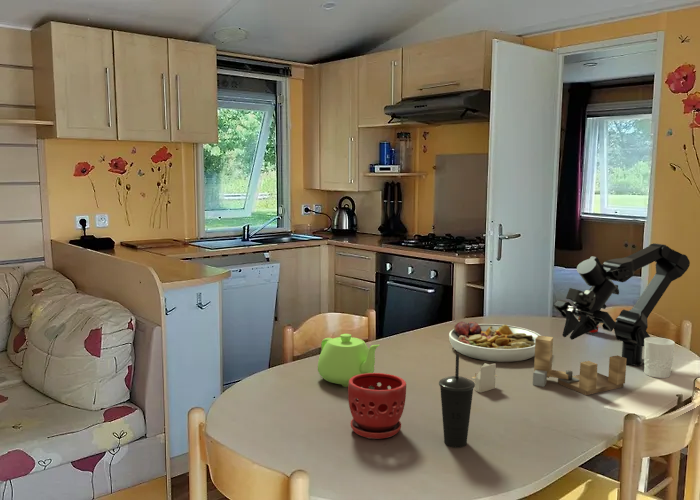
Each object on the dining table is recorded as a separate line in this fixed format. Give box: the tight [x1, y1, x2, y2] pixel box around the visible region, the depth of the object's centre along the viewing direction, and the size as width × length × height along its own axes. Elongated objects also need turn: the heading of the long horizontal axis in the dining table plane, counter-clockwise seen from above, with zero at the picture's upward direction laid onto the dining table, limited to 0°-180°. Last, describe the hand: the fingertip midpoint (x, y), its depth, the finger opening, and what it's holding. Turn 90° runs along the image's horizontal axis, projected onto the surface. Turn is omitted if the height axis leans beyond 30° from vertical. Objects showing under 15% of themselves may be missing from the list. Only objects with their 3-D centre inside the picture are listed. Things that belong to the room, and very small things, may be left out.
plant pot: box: [347, 372, 407, 440], centre depth 142 cm, size 13×13×12 cm
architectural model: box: [471, 362, 499, 393], centre depth 170 cm, size 3×7×7 cm, turn 124°
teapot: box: [317, 333, 380, 388], centre depth 175 cm, size 22×15×13 cm
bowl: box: [448, 321, 542, 363], centre depth 204 cm, size 30×30×8 cm
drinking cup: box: [438, 353, 475, 448], centre depth 136 cm, size 8×8×20 cm
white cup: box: [643, 336, 676, 379], centre depth 180 cm, size 8×8×10 cm
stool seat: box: [557, 354, 627, 396], centre depth 171 cm, size 14×10×8 cm
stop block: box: [532, 370, 547, 388], centre depth 173 cm, size 3×3×4 cm
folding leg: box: [533, 335, 573, 380], centre depth 174 cm, size 10×4×10 cm, turn 62°
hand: (567, 337), depth 179 cm, fingers closed
